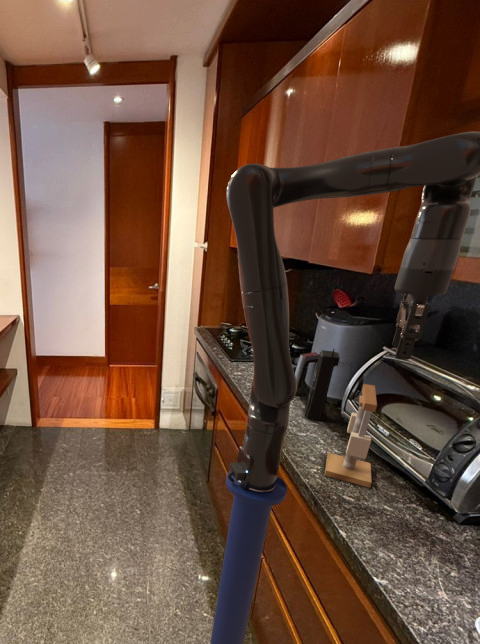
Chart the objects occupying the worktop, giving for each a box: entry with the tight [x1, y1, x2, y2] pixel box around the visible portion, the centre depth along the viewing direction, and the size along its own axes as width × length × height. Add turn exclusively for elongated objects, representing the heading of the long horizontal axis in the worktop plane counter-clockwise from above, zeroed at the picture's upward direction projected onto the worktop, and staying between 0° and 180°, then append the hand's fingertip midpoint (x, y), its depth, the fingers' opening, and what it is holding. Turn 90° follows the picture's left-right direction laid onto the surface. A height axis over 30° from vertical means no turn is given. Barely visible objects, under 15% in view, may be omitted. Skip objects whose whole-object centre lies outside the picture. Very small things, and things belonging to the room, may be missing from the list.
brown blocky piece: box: [345, 383, 378, 460], centre depth 97 cm, size 4×15×14 cm, turn 148°
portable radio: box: [303, 348, 341, 422], centre depth 129 cm, size 8×6×25 cm
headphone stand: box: [324, 395, 373, 489], centre depth 99 cm, size 10×10×21 cm
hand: (400, 352), depth 75 cm, fingers open, 8 cm apart
